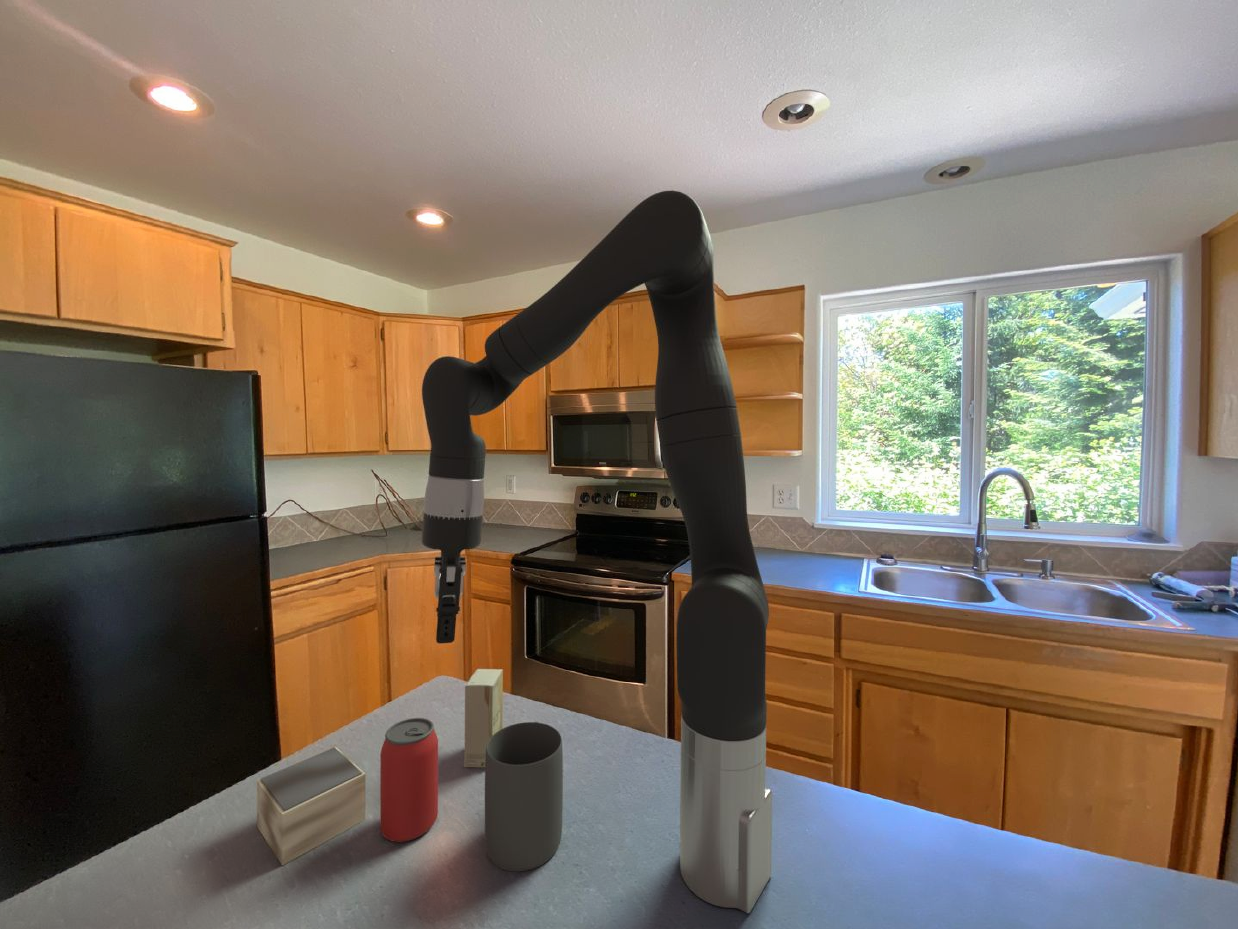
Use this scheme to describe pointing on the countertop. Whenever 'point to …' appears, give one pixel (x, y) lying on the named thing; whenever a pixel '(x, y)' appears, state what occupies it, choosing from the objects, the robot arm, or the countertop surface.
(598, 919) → the countertop surface
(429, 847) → the countertop surface
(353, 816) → the birch plinth
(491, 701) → the skincare box
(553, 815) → the mug
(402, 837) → the beer can
